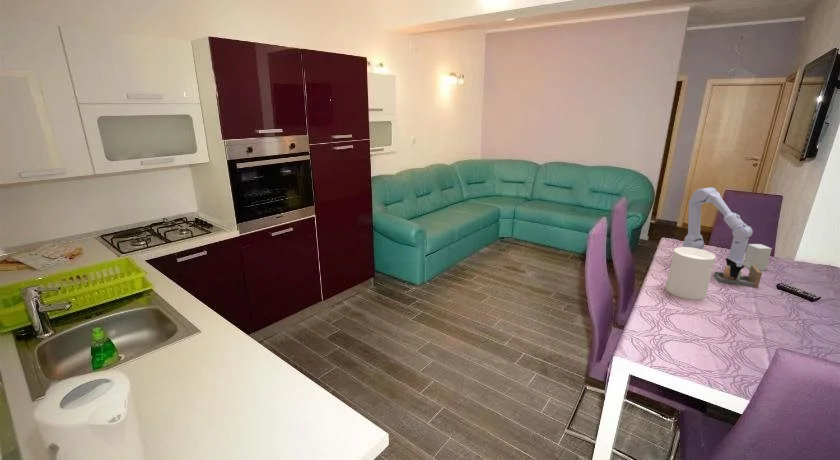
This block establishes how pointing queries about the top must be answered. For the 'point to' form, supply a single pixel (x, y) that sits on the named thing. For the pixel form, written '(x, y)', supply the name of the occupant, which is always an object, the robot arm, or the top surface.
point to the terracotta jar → (727, 273)
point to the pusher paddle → (739, 276)
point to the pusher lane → (743, 278)
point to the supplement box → (757, 256)
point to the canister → (690, 273)
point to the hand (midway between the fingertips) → (731, 274)
